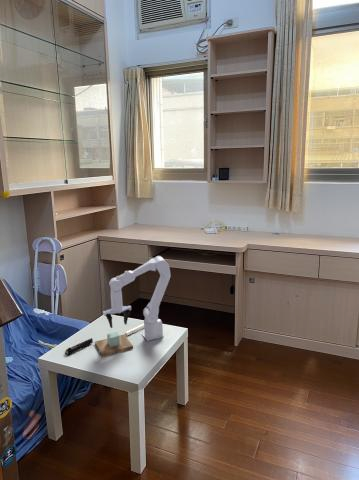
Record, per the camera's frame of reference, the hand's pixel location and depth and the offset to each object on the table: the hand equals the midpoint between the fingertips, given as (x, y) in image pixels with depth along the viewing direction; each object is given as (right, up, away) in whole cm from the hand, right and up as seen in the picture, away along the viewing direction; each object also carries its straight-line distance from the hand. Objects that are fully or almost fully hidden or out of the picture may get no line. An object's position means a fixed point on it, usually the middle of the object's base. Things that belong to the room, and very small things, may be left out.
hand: (118, 325), depth 185 cm
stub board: (-2, -10, -2) cm, 11 cm away
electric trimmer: (-20, -12, -3) cm, 23 cm away
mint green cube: (-2, -9, -3) cm, 9 cm away
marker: (+8, -7, +15) cm, 18 cm away
